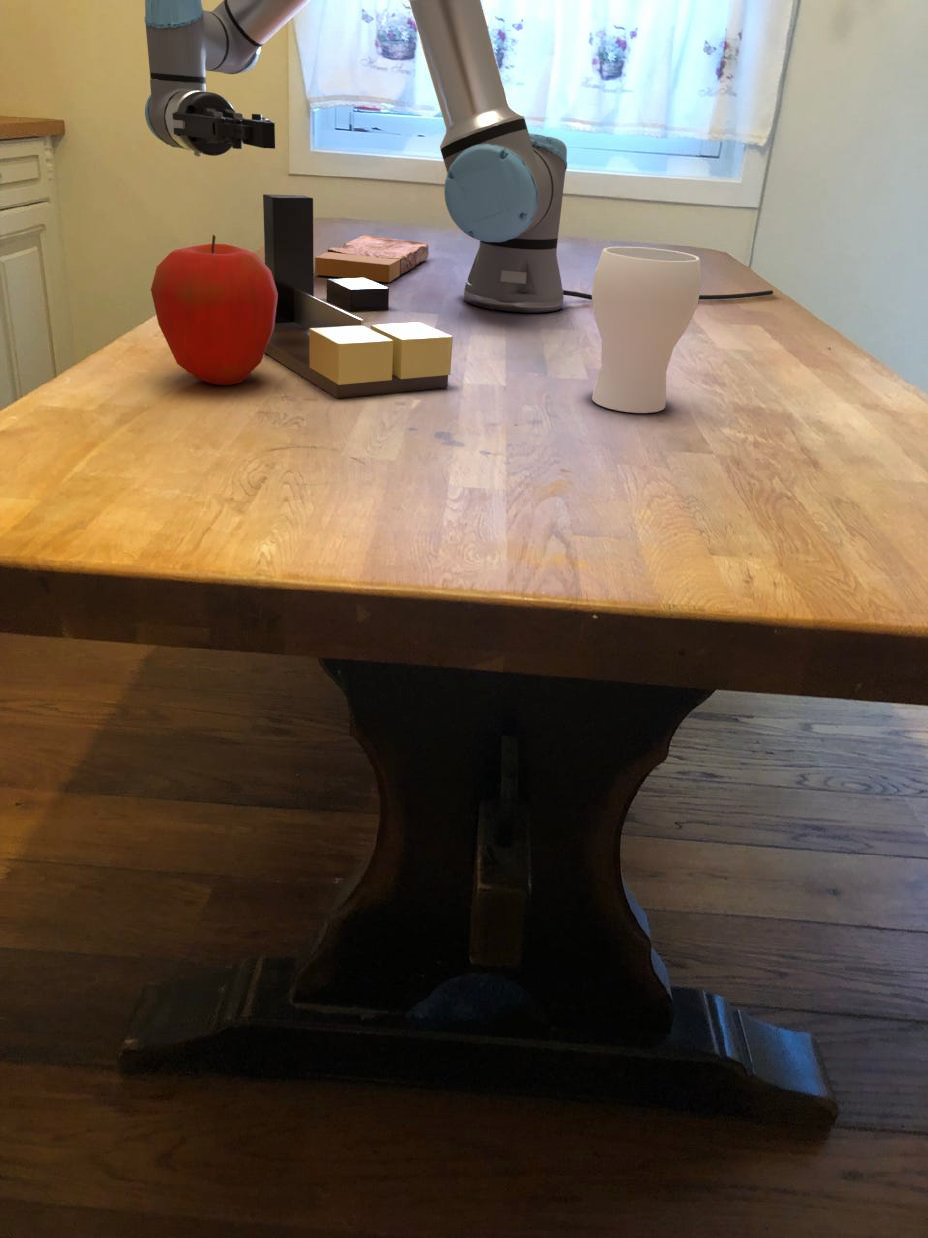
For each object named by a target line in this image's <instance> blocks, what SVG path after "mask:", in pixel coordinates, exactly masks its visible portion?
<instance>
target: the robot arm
mask: <svg viewBox="0 0 928 1238" xmlns="http://www.w3.org/2000/svg"><path fill="white" fill-rule="evenodd" d="M311 1H312V0H222V1H221V2H220V3H219V4H218V5H217V6H216V7H215V8H214V9H213V10H211V11H210V10H204V9H203V2H202V0H144V8H145V9H144V10H145V11H144V13H145V14H144V15H145V16H144V24H145V33H146V45H147V46H146V47H147V57H148V67H149V68H148V69H149V77H150V78H149V86H150V95H149V96H148V98H147V100H146V103H145V107H144V118H145V121H146V124H147V127H148V129H149V130H150V132H151V133H152V134H153V136H155V137H156V139H158V140H160V141H161V142H163V143H164V144H165V145H168V146H170V147H171V148H178V149H183V150H188V151H193V155H194V156H195V157H197V158H199V157H201V156H202V155H206V156H210V157H211V156H212V157H218V156H221V155H223V154H226V153H227V152H229V151H230V150H231V149H235V150H243V145H247V146H252V147H256V148H261V149H273V150H275V149H276V126H275V125H276V123H275V122H274V121H272V120H270V119H268V118H266V117H262V114H260V113H251V118H245V117H243V116H244V115H243V114H242V113H240V112H236V110H235V109H234V107H233V106H232V104H231V103H230V102H229V101H228V100H227V99H226V98H225V97H224V96H222V95H220V94H218V93H215V92H210V91H207V86H206V84H207V80H206V78H207V77H206V76H207V75H206V72H214V73H221V74H226V75H236V74H243V73H247V72H250V70H252V69H253V68H254V67H256V64H257V62H258V60H259V57H260V54H261V47H263V45H265V44H266V43H267V42H268V41H269V40H270V39H271V38H272V37H273V36H274V35H275V34H276V33H278V32H279V31H280V30H281V29H282V28H283V27H284V26H285V25H286V24H287V23H288V22H289V21H291V19H292V18H294V17H295V16H296V15H297V14H298V13H299V12H300V11H301V10H302V9H304V8H305V7H306V6H307V5H308V4H309V3H310V2H311ZM407 2H408V4H409V7H410V11H411V15H412V18H413V21H414V24H415V27H416V32H417V35H418V39H419V42H420V44H421V48H422V51H423V55H424V58H425V62H426V64H427V69H428V72H429V75H430V78H431V82H432V85H433V88H434V92H435V95H436V99H437V102H438V105H439V109H440V113H441V116H442V119H443V122H444V123H443V124H444V127H445V134H444V137H443V139H442V141H441V143H440V145H439V149H440V153H441V156H442V159H443V163H444V167H445V171H446V177H445V181H444V189H443V191H444V193H443V194H444V203H445V207H446V209H447V212H448V214H449V216H450V218H451V220H452V221H453V222H454V224H455V225H456V226H457V228H458V229H459V230H460V231H461V232H463V233H464V234H465V235H467V236H469V238H472V239H474V240H477V241H479V245H478V249H477V251H476V255H475V258H474V260H473V263H472V265H471V268H470V271H469V274H468V277H467V279H466V281H465V285H464V288H463V300H464V301H465V302H466V303H468V304H470V305H473V306H476V307H480V308H484V309H489V310H495V311H501V312H502V311H503V312H510V313H511V312H513V313H532V314H533V313H536V314H537V313H550V312H555V311H560V310H561V309H562V308H563V306H564V305H563V304H564V296H568V297H576V298H581V299H586V300H591V301H592V294H589V293H584V292H579V291H573V290H566V289H563V284H562V277H561V271H560V267H559V261H558V256H557V252H558V251H557V249H558V242H559V241H558V240H559V234H560V233H559V232H560V224H561V215H562V214H561V213H562V205H563V196H564V189H565V188H564V187H565V179H566V178H565V177H566V172H567V169H568V161H567V157H568V149H567V145H566V144H565V142H563V140H561V139H558V138H556V137H552V136H546V135H543V134H537V133H529V130H528V126H527V122H526V118H525V116H524V115H523V114H521V113H520V112H518V111H516V110H514V109H513V108H512V107H511V106H510V103H509V101H508V97H507V93H506V89H505V86H504V82H503V79H502V74H501V71H500V68H499V64H498V61H497V57H496V53H495V49H494V45H493V42H492V38H491V34H490V31H489V27H488V23H487V20H486V16H485V11H484V9H483V5H482V2H481V0H407ZM773 294H774V290H773V289H772V290H763V291H754V292H743V293H732V294H731V293H730V294H699V299H698V301H701V300H708V301H709V300H732V299H733V300H734V299H744V298H754V297H763V296H771V295H773Z"/></svg>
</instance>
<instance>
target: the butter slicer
mask: <svg viewBox="0 0 928 1238" xmlns="http://www.w3.org/2000/svg"><path fill="white" fill-rule="evenodd" d="M262 200H263V201H262V206H263V208H262V209H263V243H264V245H263V246H264V264H265V265H266V266H267V267H268V268H269V269H270V270H271V272H272V276H273V279H274V283H275V286H276V289H277V293H278V300H277V308H276V316H275V323H296V324H298V325H300V326H302V327H303V328H305V329H307V330H309V328H325V327H342V326H360V325H362V326H364V319H362V318H360V317H357V316H355V315H353V314H351V313H349V312H347V311H345V310H343V309H340V308H338V307H336V306H334V305H332V304H330V303H328V302H325V301H323V300H321V299H320V298H316V297H315V295H314V294H315V291H314V290H315V285H314V284H315V283H314V282H315V279H314V277H315V276H314V275H315V260H314V198H313V197H311V196H307V195H304V194H262Z"/></svg>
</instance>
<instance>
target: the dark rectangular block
mask: <svg viewBox="0 0 928 1238" xmlns="http://www.w3.org/2000/svg"><path fill="white" fill-rule="evenodd" d="M326 301H327V302H329V303H331V304H334V305H335V306H338V307H340V308H342V309H344V310H346V311H348V312H372V311H388V310H389V304H390V288H389V287H387V286H385V285H382V284H380V283H378V282H376V281H372V280H367V279H365V278H326Z"/></svg>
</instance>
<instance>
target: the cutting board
mask: <svg viewBox="0 0 928 1238" xmlns="http://www.w3.org/2000/svg"><path fill="white" fill-rule="evenodd" d="M264 354H266V355H268V356H269V357H271V358H272V359H274V360H276V362H278V363H279V364H282V365H283V366H285V367H287V368H288V369H290V370H292V371H293V372H295V373H296V374H297V375H299V376H301V377H302V378H303V379H306V380H307V381H308V382H310V383H312V384H314V385H315V386H317V387H318V388H320V389H321V390H323V391H325V392H326V393H328V394H330V395H331V396H332V397H334V398H335V399H344V398H354V397H365V396H376V395H384V394H385V395H386V394H396V393H407V392H416V391H424V390H425V391H426V390H436V389H437V390H438V389H446V388H448V384H449V375H442V376H431V377H420V378H409V379H400V378H398V377H396V376H394V375H392V380H387V381H376V382H365V383H353V384H342V385H338V384H336V383H335V382H333V381H331V380H330V379H328V378H327V377H325V376H323V375H322V374H320V373H318V372H317V371H315V370H313V369H312V368H310V350H309V330H307V329H305V328H303V327H302V326H300V325H298V324H296V323H275V325H274V330H273V332H272V335H271V338H270V340H269V343H268V345H267V348H266V350H265V353H264Z"/></svg>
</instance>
